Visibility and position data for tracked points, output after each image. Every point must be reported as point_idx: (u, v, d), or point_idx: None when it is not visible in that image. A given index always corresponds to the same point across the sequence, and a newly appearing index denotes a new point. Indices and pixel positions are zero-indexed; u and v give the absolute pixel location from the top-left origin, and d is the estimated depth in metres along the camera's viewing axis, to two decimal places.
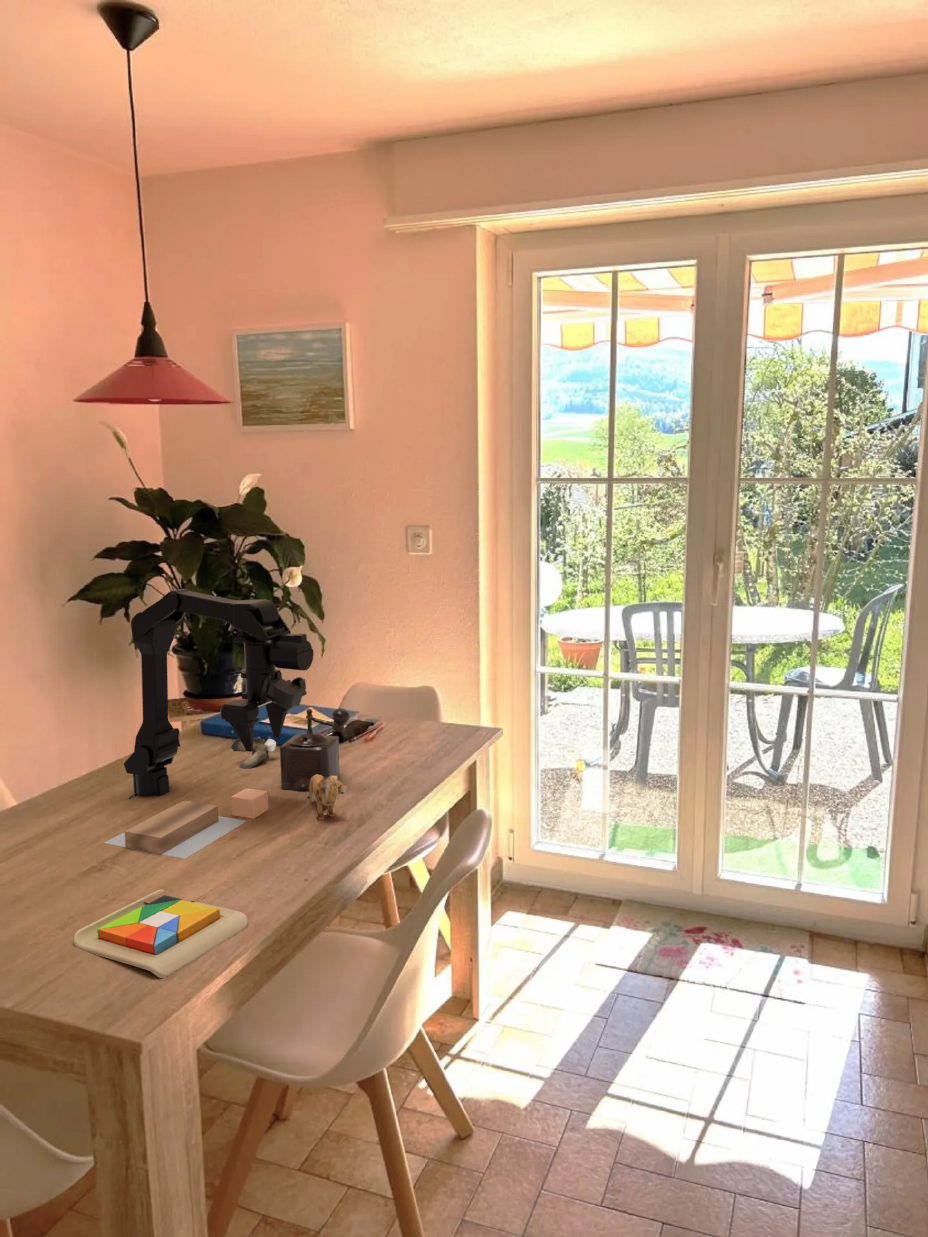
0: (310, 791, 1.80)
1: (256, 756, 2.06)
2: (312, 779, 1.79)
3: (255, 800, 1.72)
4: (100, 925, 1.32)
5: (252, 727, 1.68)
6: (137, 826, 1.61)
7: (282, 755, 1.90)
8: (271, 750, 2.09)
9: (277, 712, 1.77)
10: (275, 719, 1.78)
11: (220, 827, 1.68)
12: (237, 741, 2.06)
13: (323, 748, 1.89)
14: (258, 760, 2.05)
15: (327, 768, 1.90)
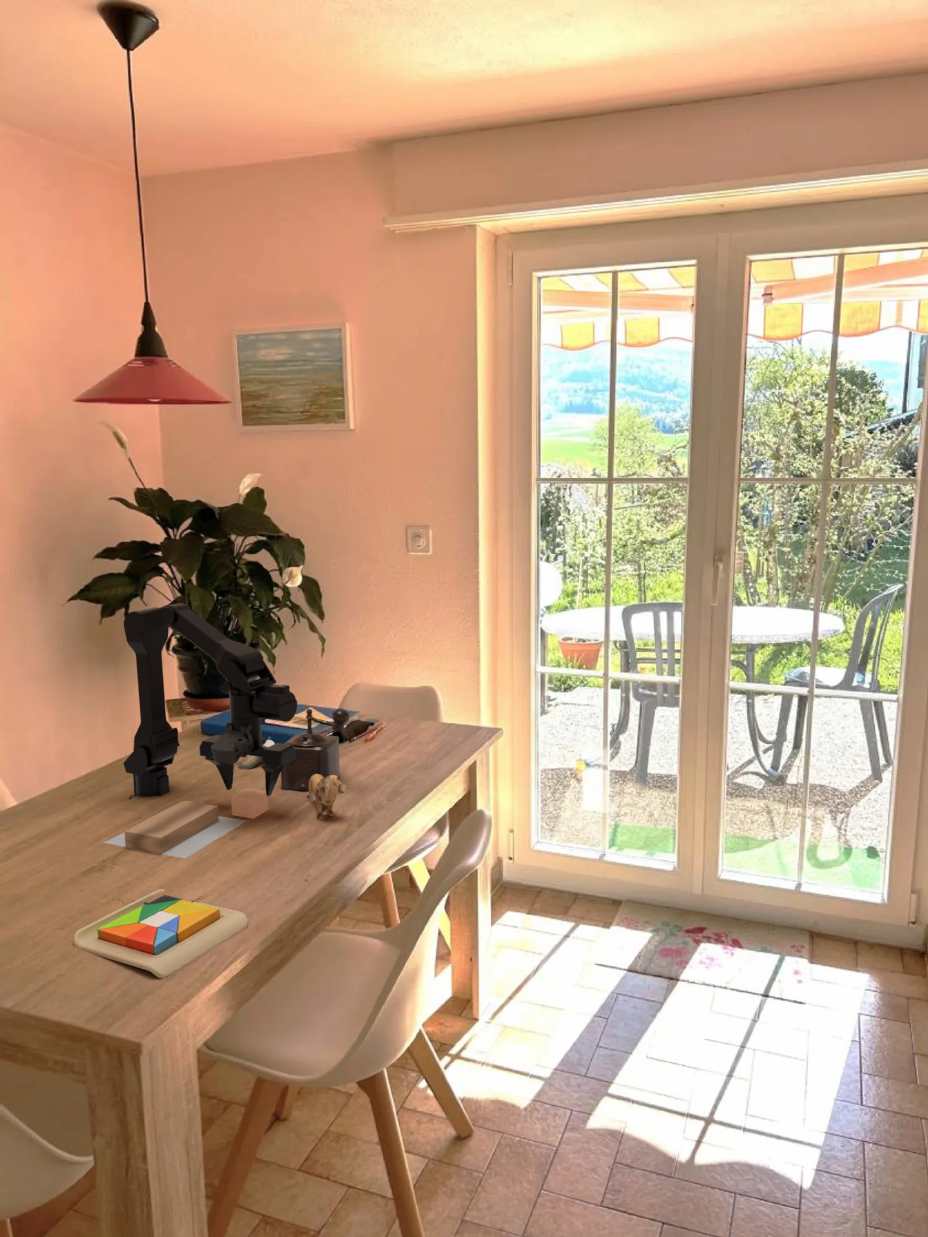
0: (310, 791, 1.80)
1: (255, 757, 2.06)
2: (312, 779, 1.79)
3: (255, 800, 1.72)
4: (100, 925, 1.32)
5: (220, 766, 1.74)
6: (137, 826, 1.61)
7: None
8: None
9: None
10: None
11: (220, 827, 1.68)
12: None
13: (323, 748, 1.89)
14: (257, 761, 2.05)
15: (327, 768, 1.90)
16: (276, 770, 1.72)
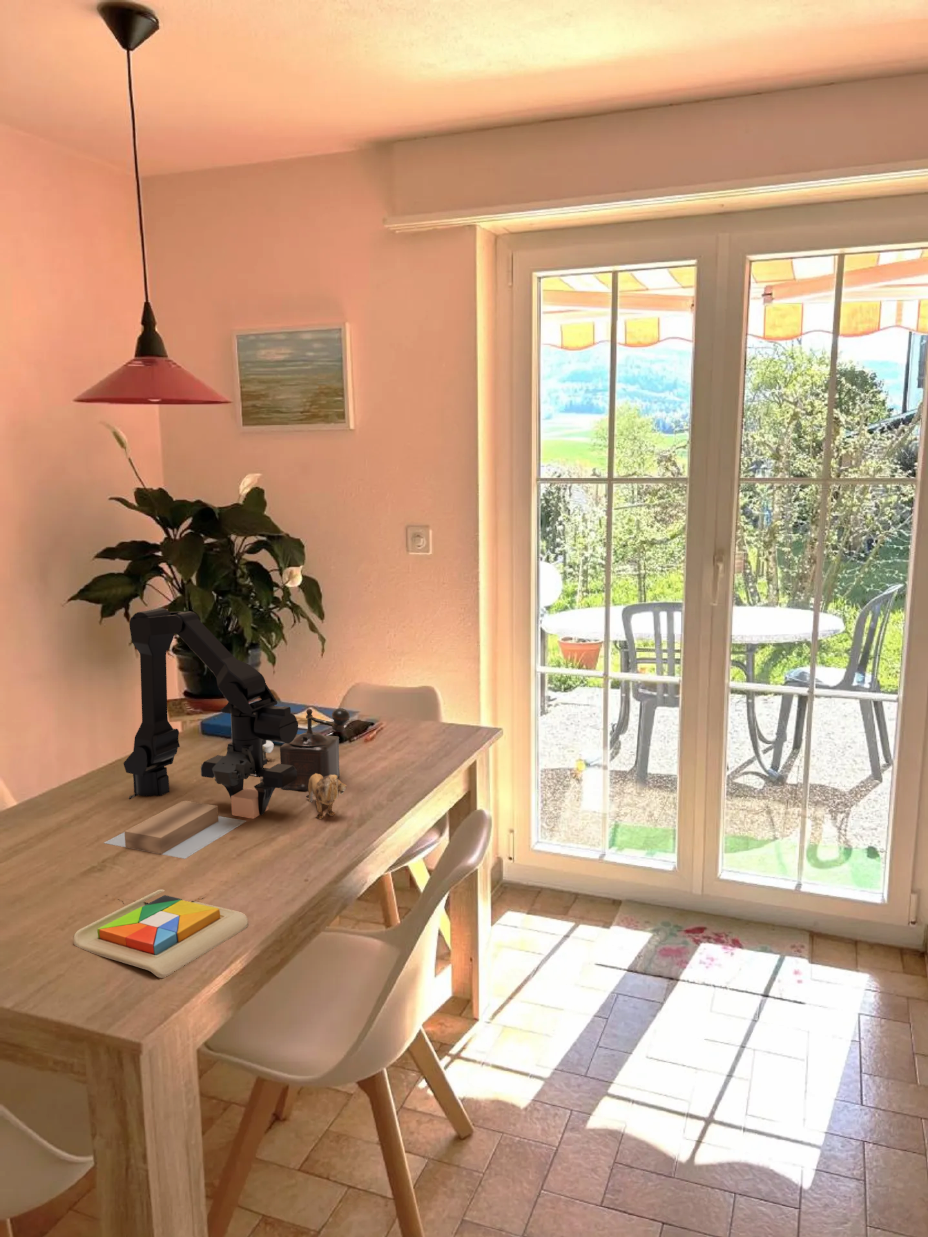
0: (309, 790, 1.80)
1: None
2: (311, 778, 1.79)
3: (255, 800, 1.72)
4: (100, 925, 1.32)
5: (229, 788, 1.74)
6: (137, 826, 1.61)
7: (282, 755, 1.90)
8: (269, 751, 2.08)
9: None
10: None
11: (220, 827, 1.68)
12: None
13: (323, 748, 1.89)
14: None
15: (327, 768, 1.90)
16: (269, 789, 1.74)
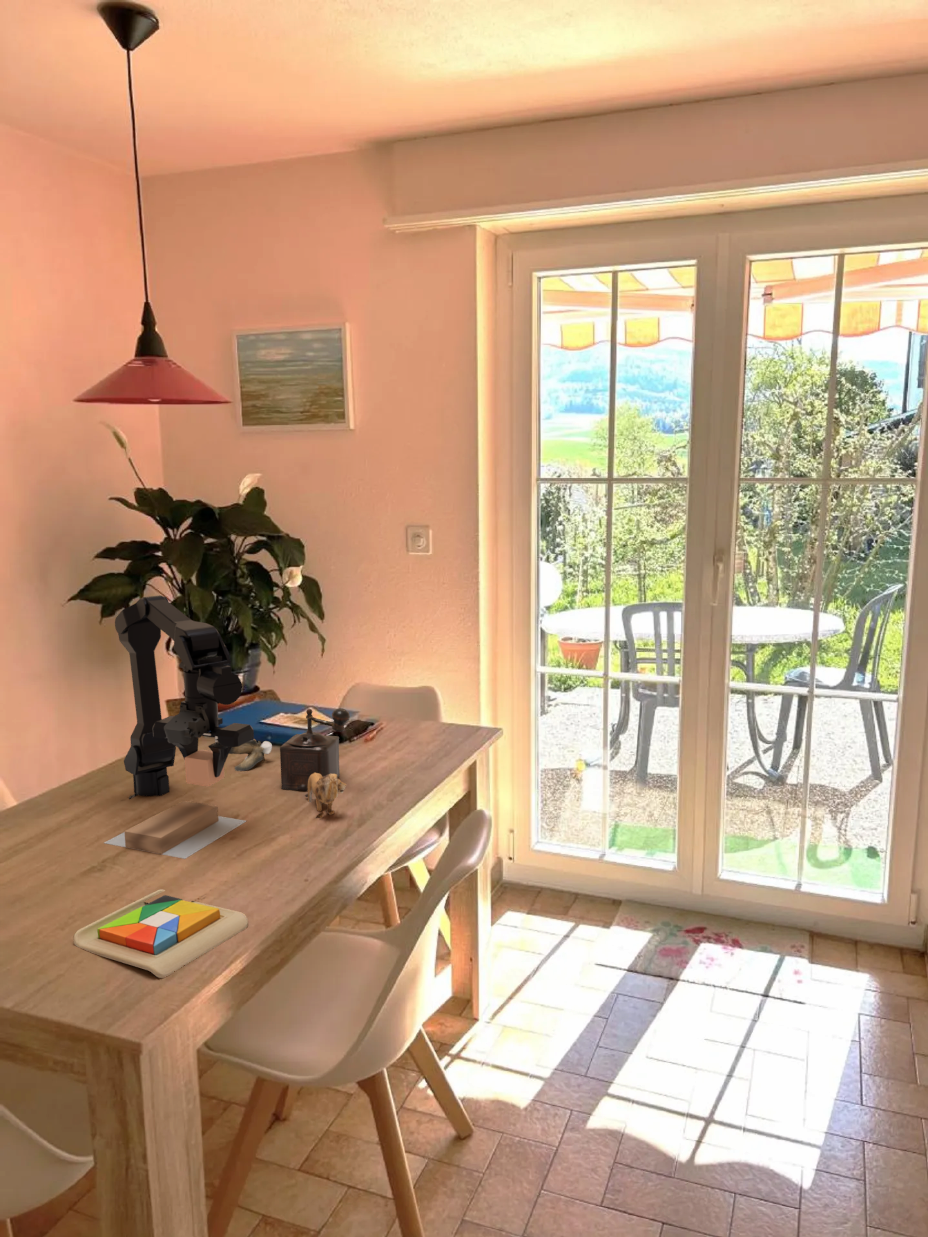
0: (309, 789, 1.81)
1: (252, 758, 2.04)
2: (311, 777, 1.80)
3: (210, 760, 1.65)
4: (100, 925, 1.32)
5: (183, 749, 1.67)
6: (137, 826, 1.61)
7: (282, 755, 1.90)
8: (267, 752, 2.07)
9: None
10: None
11: (220, 827, 1.68)
12: None
13: (323, 748, 1.89)
14: (254, 762, 2.04)
15: (327, 768, 1.90)
16: (224, 750, 1.66)
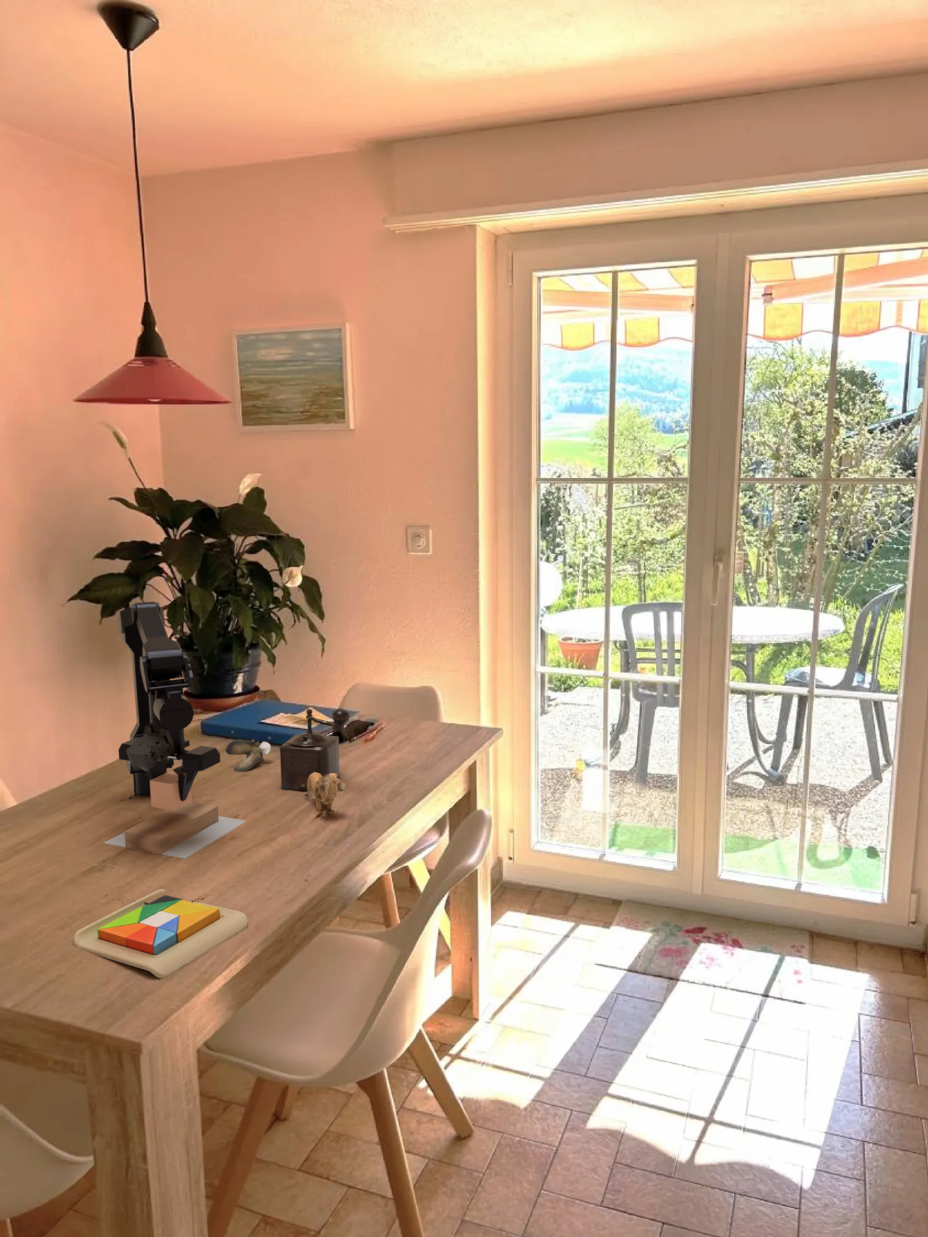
0: (308, 789, 1.81)
1: (251, 759, 2.04)
2: (310, 777, 1.80)
3: (175, 784, 1.61)
4: (100, 925, 1.32)
5: (149, 772, 1.63)
6: (137, 826, 1.61)
7: (282, 755, 1.90)
8: (266, 753, 2.07)
9: None
10: None
11: (220, 827, 1.68)
12: (231, 744, 2.04)
13: (323, 748, 1.89)
14: (253, 763, 2.03)
15: (327, 768, 1.90)
16: (191, 773, 1.62)
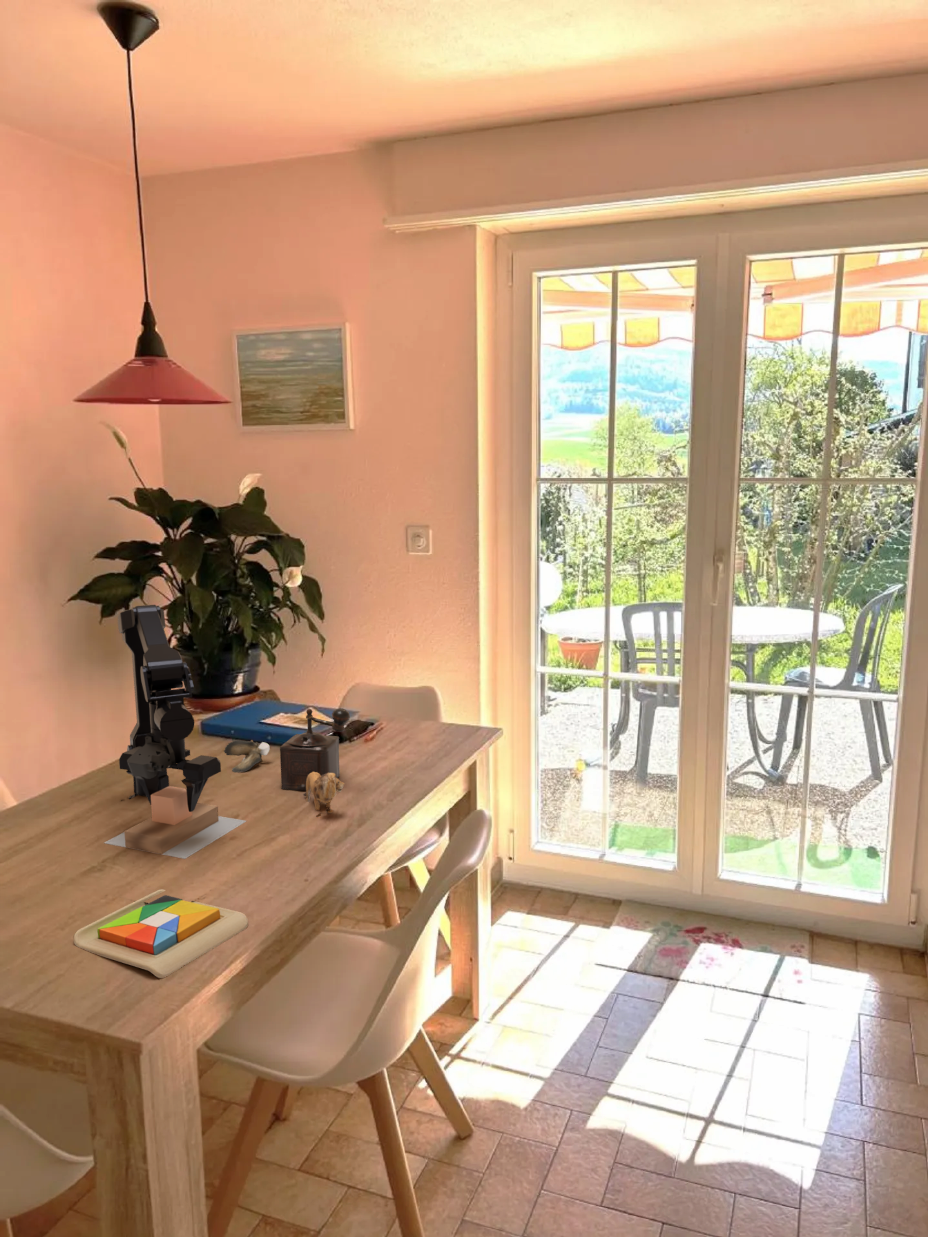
0: (307, 788, 1.81)
1: (250, 760, 2.03)
2: (309, 776, 1.81)
3: (175, 799, 1.61)
4: (100, 925, 1.32)
5: (142, 780, 1.64)
6: (137, 826, 1.61)
7: (282, 755, 1.90)
8: (265, 754, 2.06)
9: None
10: None
11: (220, 827, 1.68)
12: (230, 745, 2.03)
13: (323, 748, 1.89)
14: (252, 764, 2.03)
15: (327, 768, 1.90)
16: (199, 784, 1.62)
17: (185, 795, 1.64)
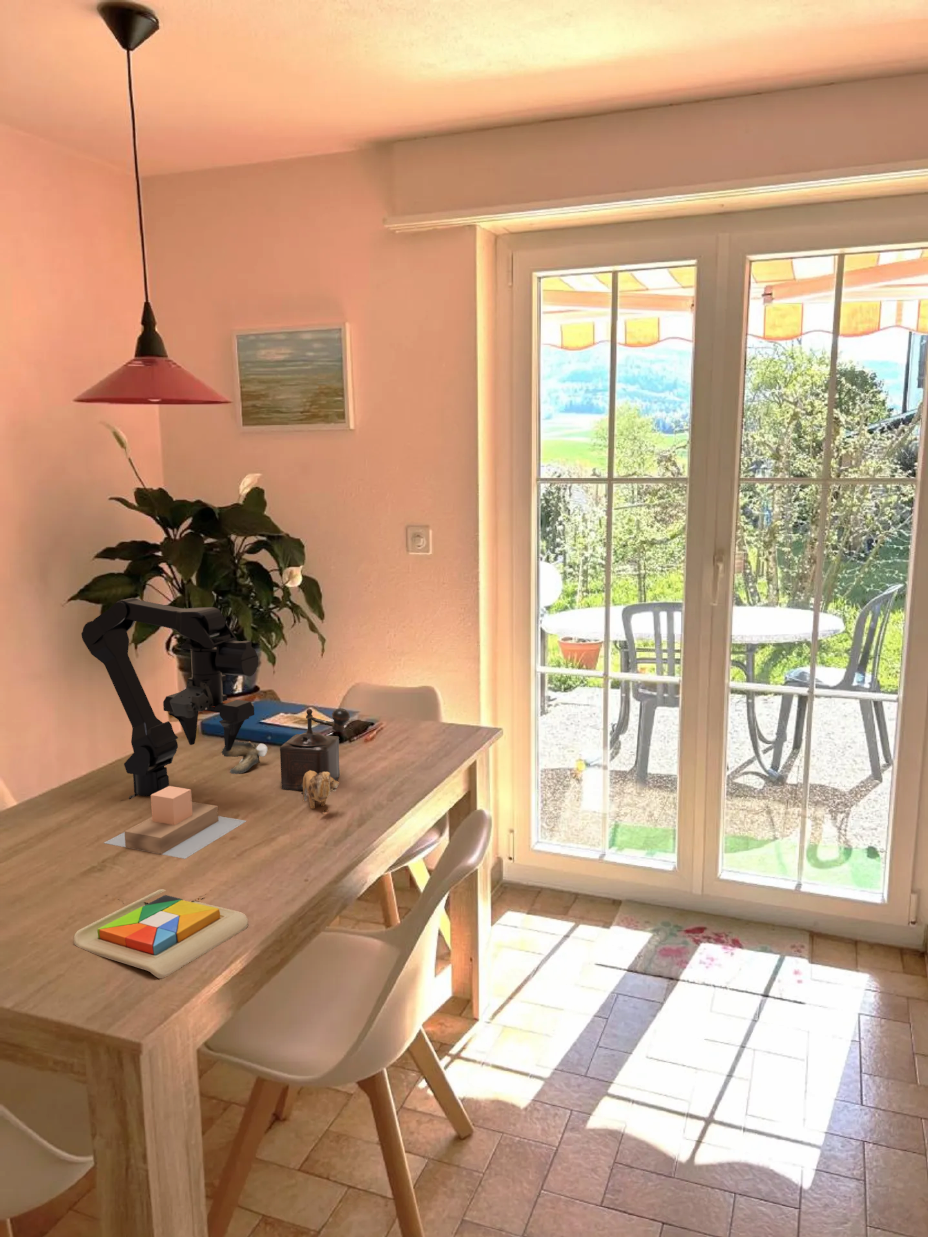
0: (303, 787, 1.82)
1: (247, 761, 2.03)
2: (305, 775, 1.81)
3: (175, 799, 1.61)
4: (100, 925, 1.32)
5: (183, 721, 1.79)
6: (137, 826, 1.61)
7: (282, 755, 1.90)
8: (262, 755, 2.05)
9: None
10: None
11: (220, 827, 1.68)
12: None
13: (323, 748, 1.89)
14: (250, 765, 2.02)
15: (327, 768, 1.90)
16: (235, 726, 1.77)
17: (185, 795, 1.64)
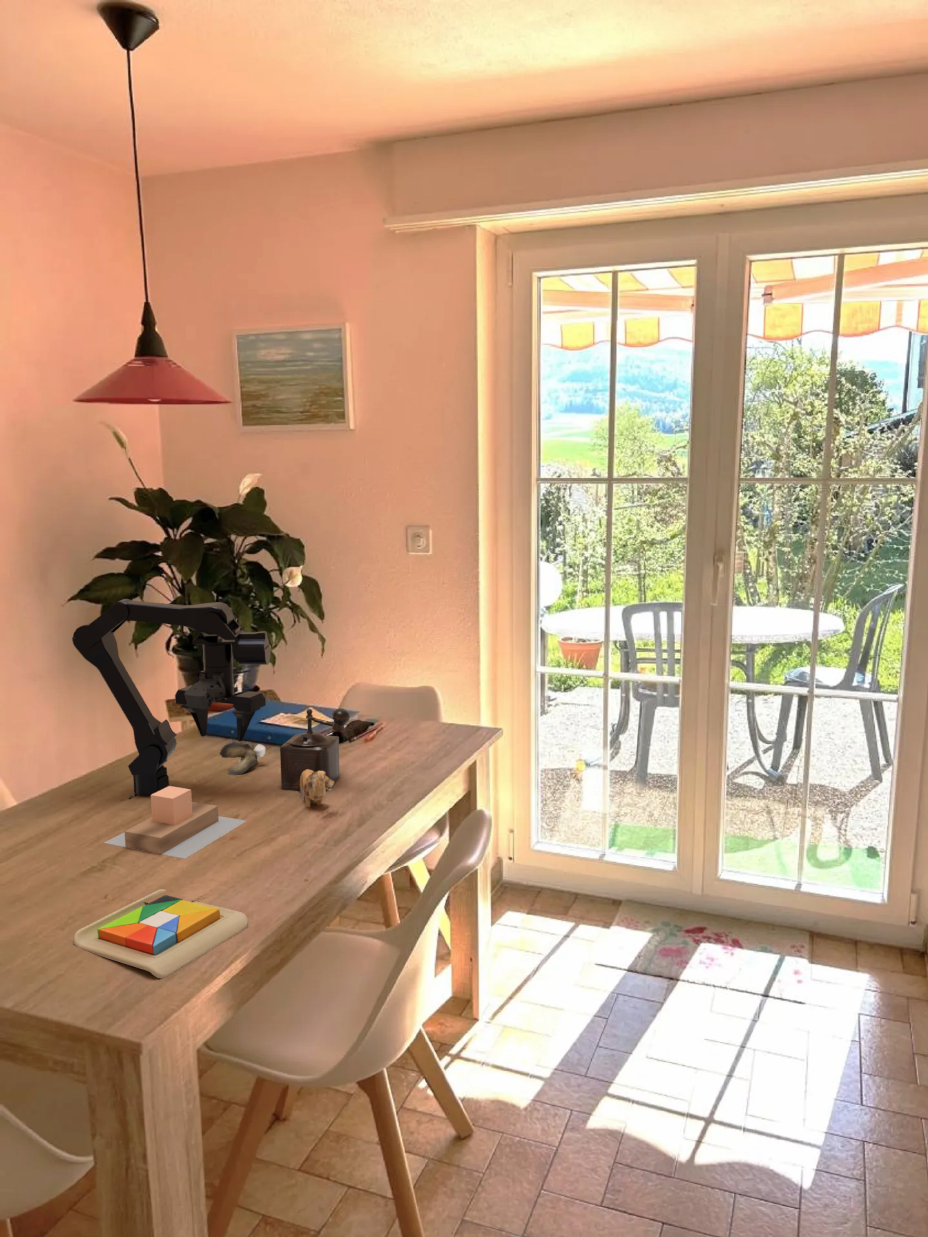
0: (300, 786, 1.83)
1: (246, 762, 2.02)
2: (302, 774, 1.82)
3: (175, 799, 1.61)
4: (100, 925, 1.32)
5: (194, 714, 1.85)
6: (137, 826, 1.61)
7: (282, 755, 1.90)
8: (260, 756, 2.05)
9: None
10: None
11: (220, 827, 1.68)
12: (226, 747, 2.02)
13: (323, 748, 1.89)
14: (248, 766, 2.01)
15: (328, 768, 1.90)
16: (247, 717, 1.83)
17: (185, 795, 1.64)
